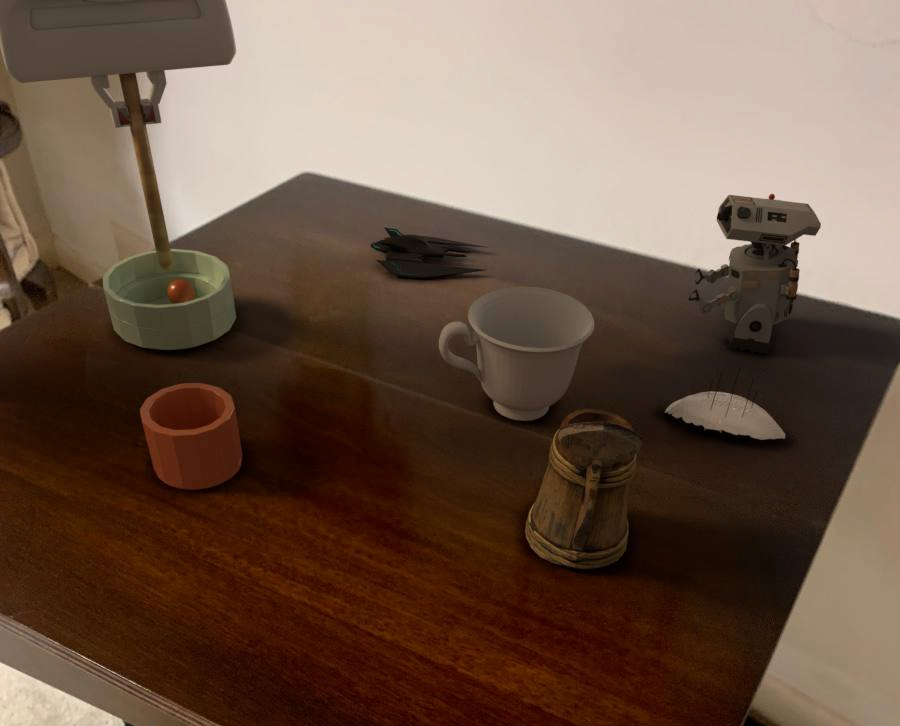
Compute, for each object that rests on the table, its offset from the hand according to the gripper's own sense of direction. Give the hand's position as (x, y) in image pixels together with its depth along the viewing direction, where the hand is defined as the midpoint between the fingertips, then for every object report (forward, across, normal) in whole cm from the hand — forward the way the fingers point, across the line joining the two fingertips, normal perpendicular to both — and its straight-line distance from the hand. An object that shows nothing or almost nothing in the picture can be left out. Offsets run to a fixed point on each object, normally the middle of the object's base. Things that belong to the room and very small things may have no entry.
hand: (137, 123), depth 84 cm
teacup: (+21, -28, +28) cm, 44 cm away
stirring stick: (+14, 0, 0) cm, 14 cm away
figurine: (+21, -59, +23) cm, 67 cm away
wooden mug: (+21, -23, +49) cm, 59 cm away
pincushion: (+21, -47, +39) cm, 64 cm away
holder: (+21, +4, +26) cm, 33 cm away
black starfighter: (+21, -33, -5) cm, 39 cm away
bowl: (+21, 0, 0) cm, 21 cm away
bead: (+19, -1, -3) cm, 19 cm away
